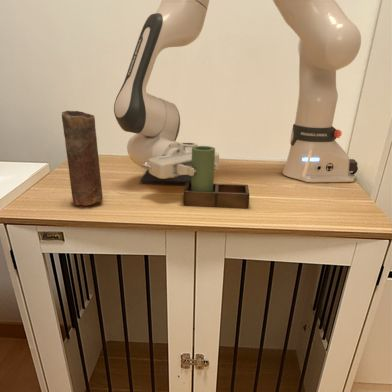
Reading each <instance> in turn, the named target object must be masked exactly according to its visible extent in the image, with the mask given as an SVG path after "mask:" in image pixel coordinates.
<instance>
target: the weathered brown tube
mask: <svg viewBox="0 0 392 392" xmlns="http://www.w3.org/2000/svg"><path fill="white" fill-rule="evenodd" d="M95 118H96V117H95V115H94V114H90V113H87V112H84V111H79V110H66V111H62V112H61V121H62V128H63V136H64V145H65V151H66V159H67V165H68V166H67V168H68V176H69V183H70V190H71V191H70V192H71V198H72V204H73V205H74V206H85V207H87V206H92V205H97V204H100V203H101V202H103V199H104V197H103V186H102V178H101V169H100V168H101V167H100V157H99V150H98V140H97V139H98V138H97V129H96V119H95Z"/></svg>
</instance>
